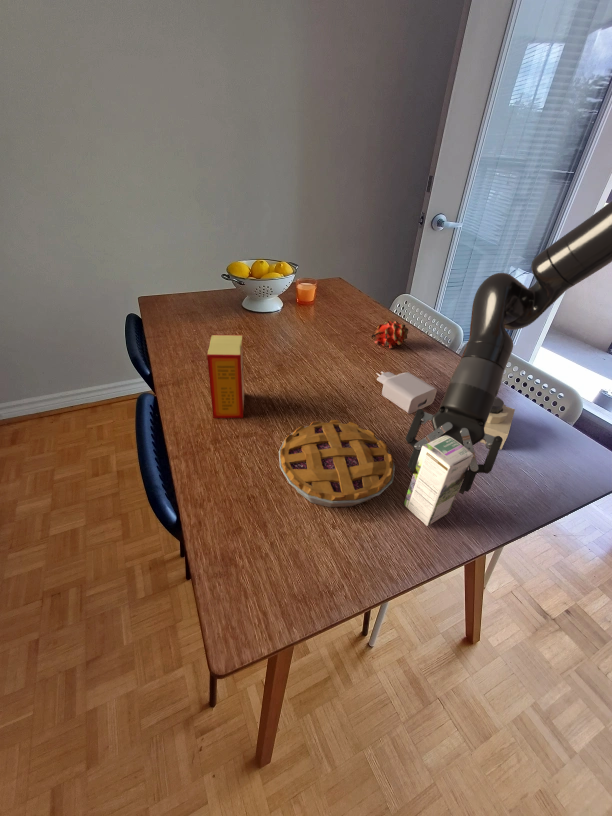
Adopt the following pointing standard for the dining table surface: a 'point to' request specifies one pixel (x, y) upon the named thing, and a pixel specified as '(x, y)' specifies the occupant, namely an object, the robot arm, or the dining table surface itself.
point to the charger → (406, 391)
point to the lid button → (497, 406)
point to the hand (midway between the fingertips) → (435, 482)
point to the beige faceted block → (499, 424)
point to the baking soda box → (226, 375)
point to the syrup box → (437, 478)
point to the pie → (336, 463)
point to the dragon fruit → (390, 334)
